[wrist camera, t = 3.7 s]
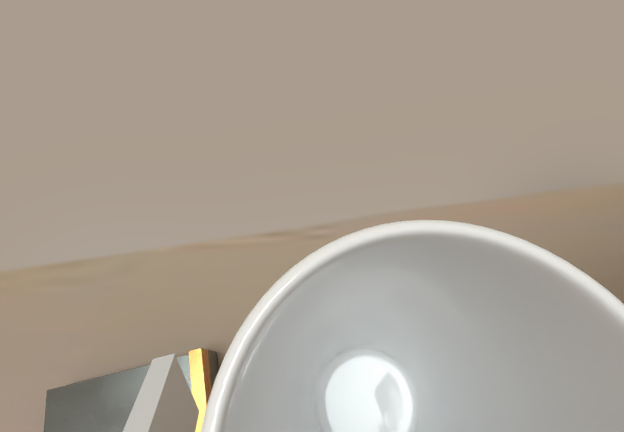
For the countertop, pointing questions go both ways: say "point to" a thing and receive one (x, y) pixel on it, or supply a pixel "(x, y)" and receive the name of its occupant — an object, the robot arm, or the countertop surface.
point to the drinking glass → (426, 340)
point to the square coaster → (122, 396)
